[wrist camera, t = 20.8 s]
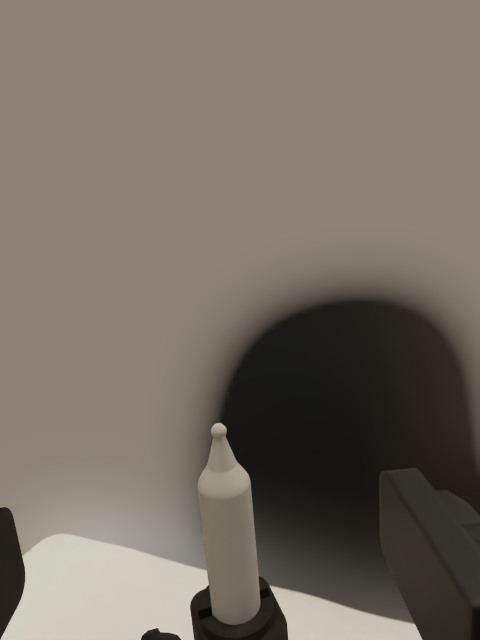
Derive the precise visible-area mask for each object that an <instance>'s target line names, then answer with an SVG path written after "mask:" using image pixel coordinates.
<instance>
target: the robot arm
mask: <svg viewBox="0 0 480 640" xmlns="http://www.w3.org/2000/svg"><path fill="white" fill-rule="evenodd" d="M379 509H380V511H379V512H380V540H381V546H382V550H383V554H384V558H385V561H386V564H387V566H388V568H389V570H390V572H391V574H392V576H393V579H394V581H395V583H396V585H397V587H398V589H399V591H400V593H401V595H402V597H403V599H404V602H405V604H406V606H407V608H408V610H409V612H410V614H411V616H412V618H413V620H414V623H415V625H416V627H417V629H418V631H419V633H420V635H421V637H422V639H423V640H480V516H479V515H478V514H477V513H476V511H475V510H474V509H473V508H472V507H471V506H470V504H468V503H467V502H465V501H464V500H462V499H460V498H459V497H457V496H456V495H454V494H452V493H451V492H449V491H448V490H440V491H435V490H434V489H433V488H432V486H431V485H430V484H429V482H428V481H427V480H426V479H425V477H424V476H423V475H422V474H421V472H420V471H419V470H418V469H416V468H412V469H401V470H391V471H383V472H381V473H380V477H379ZM24 583H25V568H24V563H23V559H22V554H21V550H20V545H19V541H18V536H17V532H16V527H15V523H14V519H13V515H12V513H11V511H10V510H9V509H8V508H6V507H3V508H0V639H1V637H2V635H3V633H4V631H5V629H6V627H7V625H8V623H9V621H10V620H11V618H12V616H13V614H14V612H15V610H16V608H17V606H18V604H19V602H20V600H21V597H22V594H23V589H24Z"/></svg>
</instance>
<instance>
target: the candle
mask: <svg viewBox="0 0 480 640" xmlns="http://www.w3.org/2000/svg"><path fill="white" fill-rule="evenodd" d="M226 431H227V430H226V427H225V426H224V425H222V424H221V423H217V424H215V425H214V426H213V427H212V429H211V433H212V435H213V442H212V446H211V451H210V456H209V460H208V464H207V466H206V468H205V469H204V471H203V473H202V475H201V476H200V478H199V481H198V493H199V502H200V511H201V519H202V528H203V537H204V545H205V554H206V563H207V572H208V580H209V585H208V586H207V588H206V589H204V590H201V591H200V592H198V593H197V594H196V595H195V596H194V597H193V599H192V601H191V605H190V608H191V617H192V625H193V632H194V640H288V632H287V622H286V619H285V617H284V615H283V613H282V611H281V609H280V607H279V605H278V603H277V601H276V599H275V597H274V594H273V592H272V590H271V588H270V586H269V584H268V583H267V581H266V580H265V579H263V578H262V577H260V576H258V566H257V554H256V543H255V531H254V520H253V507H252V495H251V484H250V478H249V475H248V473H247V472H246V471H245V470H244V469H243V468H242V466H241V465H240V464H239V463H237V461H236V459H235V457H234V455H233V453H232V450H231V448H230V446H229V444H228V441H227V439H226V437H225V435H226Z"/></svg>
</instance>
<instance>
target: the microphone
mask: <svg viewBox="0 0 480 640" xmlns="http://www.w3.org/2000/svg"><path fill="white" fill-rule="evenodd" d="M141 640H181V639H180V638H179V637H178V635H174V634H171V633H160V631H159V630H158V628H156V629H153V630H149V631H147V632H146V633H145V634H144V635H143V636H142V638H141Z"/></svg>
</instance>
